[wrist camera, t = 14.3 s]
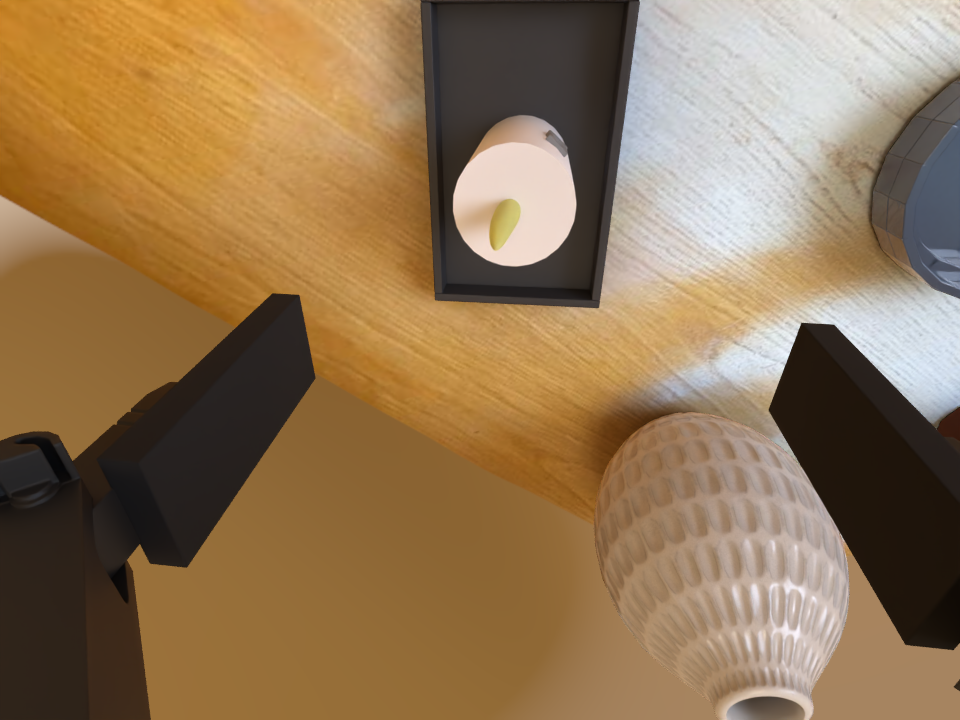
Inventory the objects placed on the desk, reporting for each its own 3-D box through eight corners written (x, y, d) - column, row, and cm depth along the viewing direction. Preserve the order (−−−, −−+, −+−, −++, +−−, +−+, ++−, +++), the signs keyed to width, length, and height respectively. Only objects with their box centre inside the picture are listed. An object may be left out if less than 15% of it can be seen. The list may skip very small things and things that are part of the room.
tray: (428, -8, 31) (419, -11, 29) (635, -9, 30) (641, -13, 28) (440, 287, 41) (434, 300, 39) (596, 294, 40) (598, 308, 38)
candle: (590, 158, 35) (617, 228, 22) (523, 229, 38) (513, 326, 25) (521, 89, 33) (506, 121, 20) (457, 169, 36) (409, 240, 23)
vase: (674, 531, 53) (745, 805, 34) (549, 451, 49) (552, 708, 30) (815, 437, 45) (1010, 724, 26) (681, 334, 41) (794, 581, 22)
